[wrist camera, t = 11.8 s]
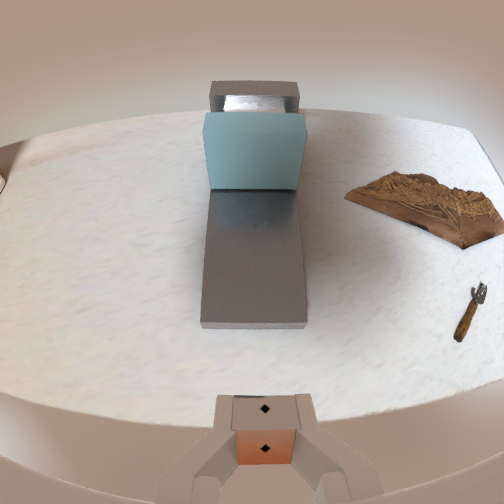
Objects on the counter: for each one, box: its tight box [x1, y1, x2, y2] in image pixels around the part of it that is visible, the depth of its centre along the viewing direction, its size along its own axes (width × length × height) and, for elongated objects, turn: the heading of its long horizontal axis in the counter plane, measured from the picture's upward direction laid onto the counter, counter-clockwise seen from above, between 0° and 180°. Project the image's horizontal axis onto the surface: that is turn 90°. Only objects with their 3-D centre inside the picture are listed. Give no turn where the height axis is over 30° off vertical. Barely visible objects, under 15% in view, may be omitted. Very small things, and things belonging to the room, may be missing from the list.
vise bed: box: [200, 81, 307, 329], centre depth 29 cm, size 24×9×10 cm, turn 0°
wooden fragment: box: [344, 171, 504, 250], centre depth 35 cm, size 26×11×1 cm, turn 79°
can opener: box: [454, 283, 487, 342], centre depth 28 cm, size 9×2×1 cm, turn 129°
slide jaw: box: [203, 112, 307, 190], centre depth 30 cm, size 3×9×8 cm, turn 90°
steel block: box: [224, 103, 285, 113], centre depth 32 cm, size 3×6×7 cm, turn 90°
